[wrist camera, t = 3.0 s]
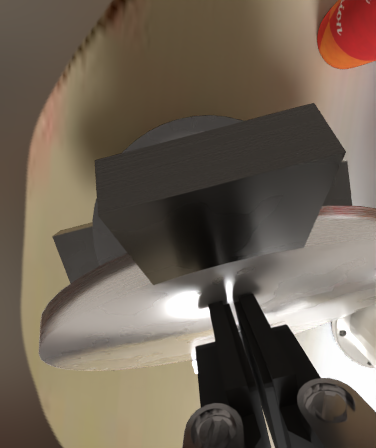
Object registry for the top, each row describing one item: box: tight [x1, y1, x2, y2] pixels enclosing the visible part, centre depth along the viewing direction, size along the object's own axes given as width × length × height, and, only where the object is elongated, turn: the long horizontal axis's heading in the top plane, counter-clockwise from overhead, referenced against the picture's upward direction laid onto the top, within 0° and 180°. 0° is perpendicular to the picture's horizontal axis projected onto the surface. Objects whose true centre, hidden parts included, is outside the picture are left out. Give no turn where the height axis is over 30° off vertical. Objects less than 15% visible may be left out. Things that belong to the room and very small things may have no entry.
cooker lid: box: [39, 103, 376, 371], centre depth 14 cm, size 18×21×3 cm
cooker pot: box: [52, 115, 352, 374], centre depth 26 cm, size 22×19×10 cm
